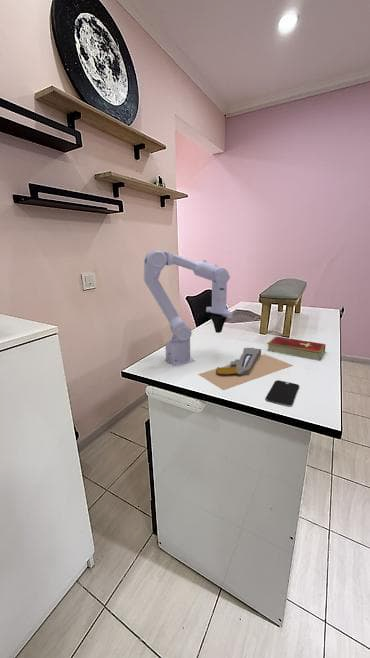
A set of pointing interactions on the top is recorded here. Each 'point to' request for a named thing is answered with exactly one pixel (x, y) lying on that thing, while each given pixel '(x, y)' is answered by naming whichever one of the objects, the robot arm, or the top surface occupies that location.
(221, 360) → the top surface
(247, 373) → the gun
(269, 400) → the smartphone
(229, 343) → the top surface
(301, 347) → the hardcover book
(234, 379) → the mat
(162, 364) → the top surface
